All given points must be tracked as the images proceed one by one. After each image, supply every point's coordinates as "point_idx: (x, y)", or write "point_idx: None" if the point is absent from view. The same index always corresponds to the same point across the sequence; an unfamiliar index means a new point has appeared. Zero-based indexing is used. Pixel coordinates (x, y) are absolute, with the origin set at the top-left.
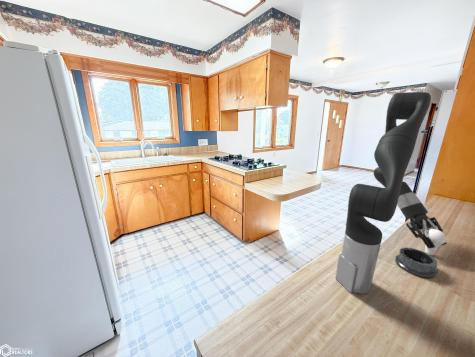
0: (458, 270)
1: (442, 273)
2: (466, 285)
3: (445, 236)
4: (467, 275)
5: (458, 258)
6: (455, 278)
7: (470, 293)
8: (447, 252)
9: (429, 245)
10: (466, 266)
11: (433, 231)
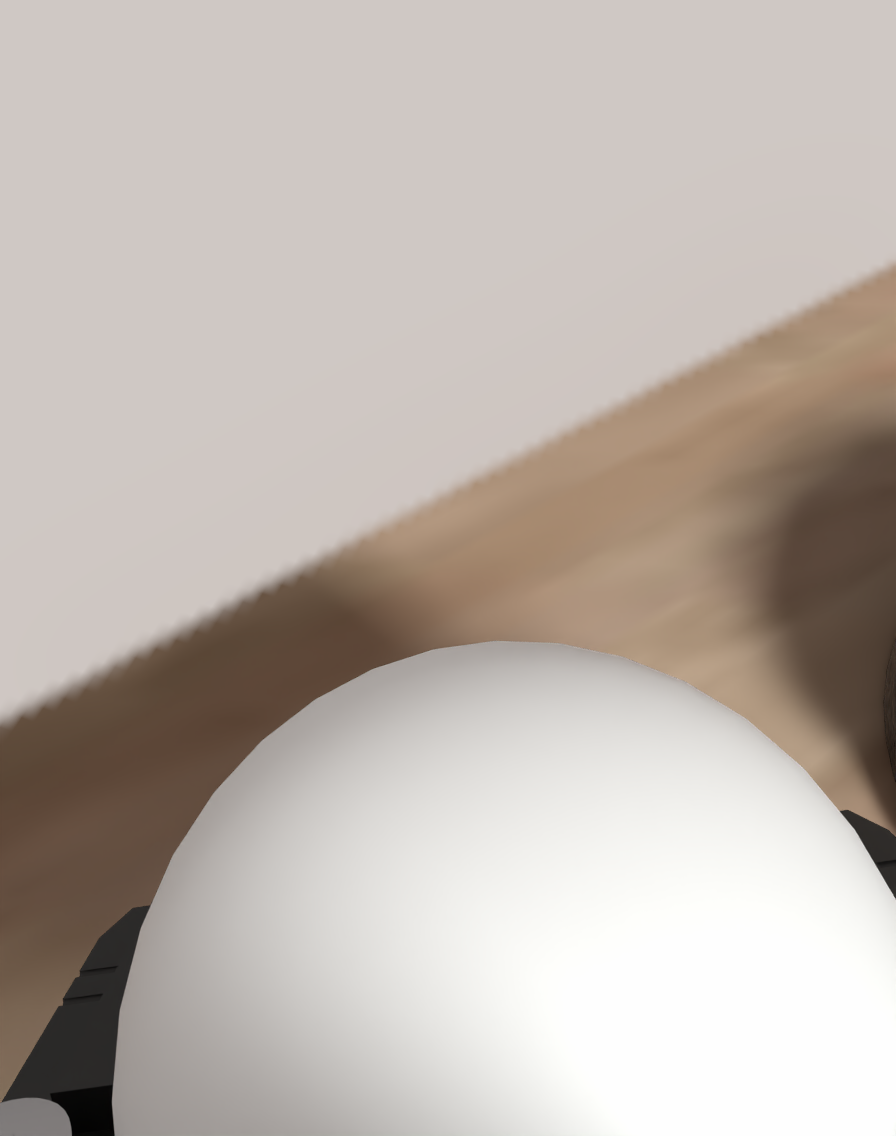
0: (474, 594)
1: (811, 577)
2: (702, 392)
3: (326, 696)
4: (470, 506)
5: (70, 826)
6: (714, 485)
7: (793, 315)
8: (8, 1038)
9: (883, 848)
10: (229, 643)
11: (771, 944)
